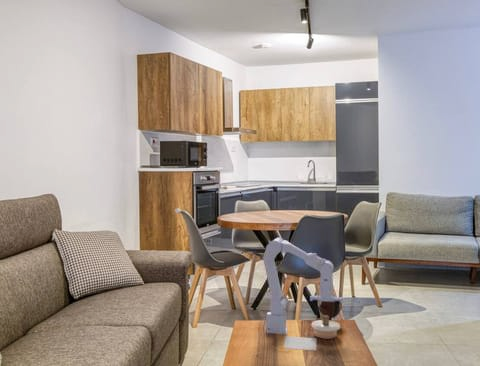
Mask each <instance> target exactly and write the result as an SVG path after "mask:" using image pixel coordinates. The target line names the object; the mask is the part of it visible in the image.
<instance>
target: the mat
mask: <svg viewBox="0 0 480 366" xmlns="http://www.w3.org/2000/svg"><path fill="white" fill-rule="evenodd" d="M317 338H318V337H301V336H288V335H287V336H285V338H284V344H283V349H289V350H290V349H292V350H306V351H307V350H308V351H317Z"/></svg>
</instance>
